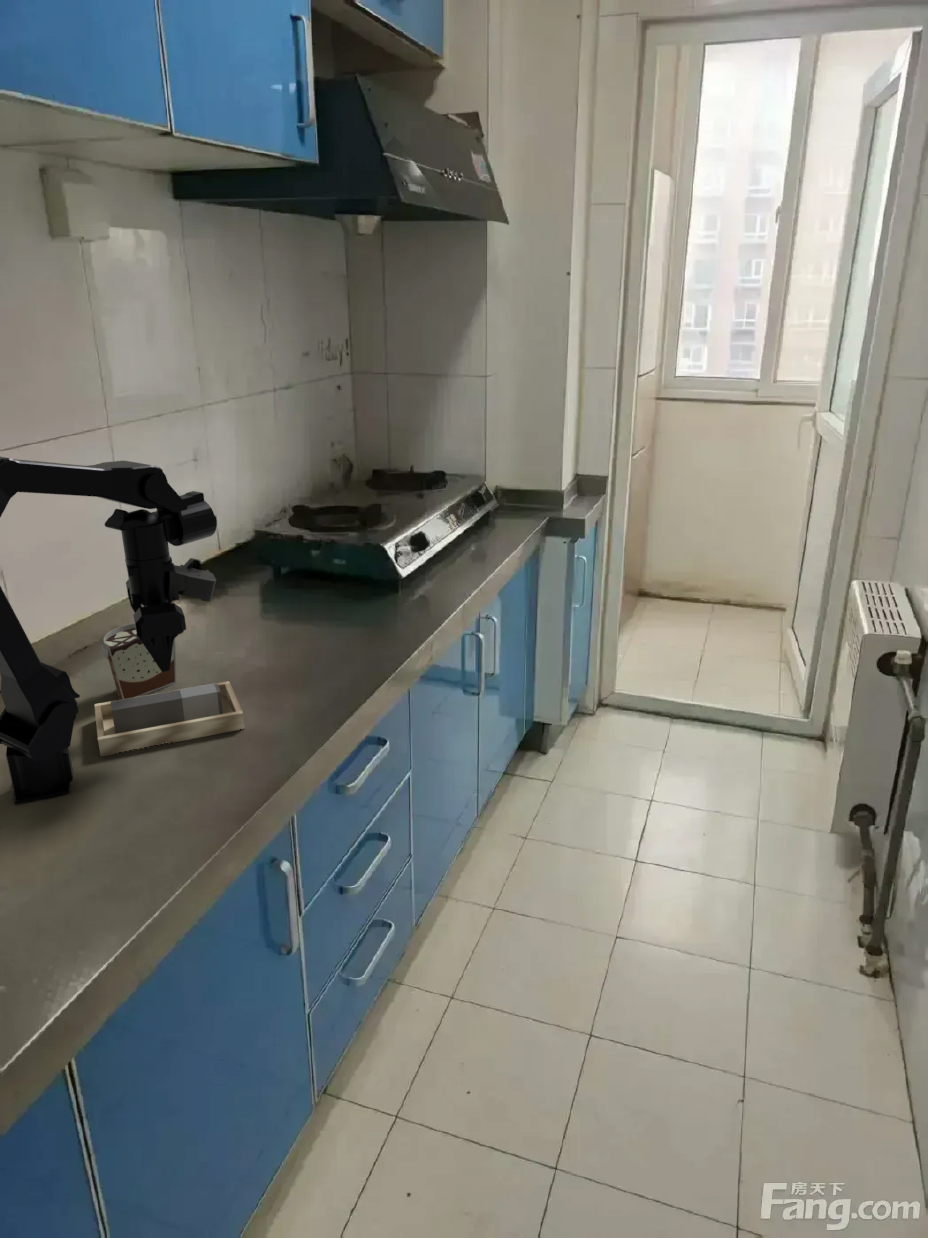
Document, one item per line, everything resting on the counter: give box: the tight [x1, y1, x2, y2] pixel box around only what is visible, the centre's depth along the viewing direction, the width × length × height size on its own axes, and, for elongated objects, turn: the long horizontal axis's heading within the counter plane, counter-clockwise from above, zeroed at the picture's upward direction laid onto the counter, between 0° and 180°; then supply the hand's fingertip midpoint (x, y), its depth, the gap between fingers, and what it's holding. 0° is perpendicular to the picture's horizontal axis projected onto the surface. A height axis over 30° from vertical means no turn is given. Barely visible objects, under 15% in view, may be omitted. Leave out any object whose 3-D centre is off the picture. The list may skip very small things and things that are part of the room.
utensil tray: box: [94, 680, 245, 757], centre depth 126 cm, size 20×12×3 cm, turn 114°
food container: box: [101, 622, 177, 700], centre depth 136 cm, size 12×6×10 cm, turn 141°
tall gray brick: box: [110, 682, 223, 734], centre depth 125 cm, size 15×3×4 cm, turn 114°
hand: (162, 658), depth 122 cm, fingers open, 9 cm apart
